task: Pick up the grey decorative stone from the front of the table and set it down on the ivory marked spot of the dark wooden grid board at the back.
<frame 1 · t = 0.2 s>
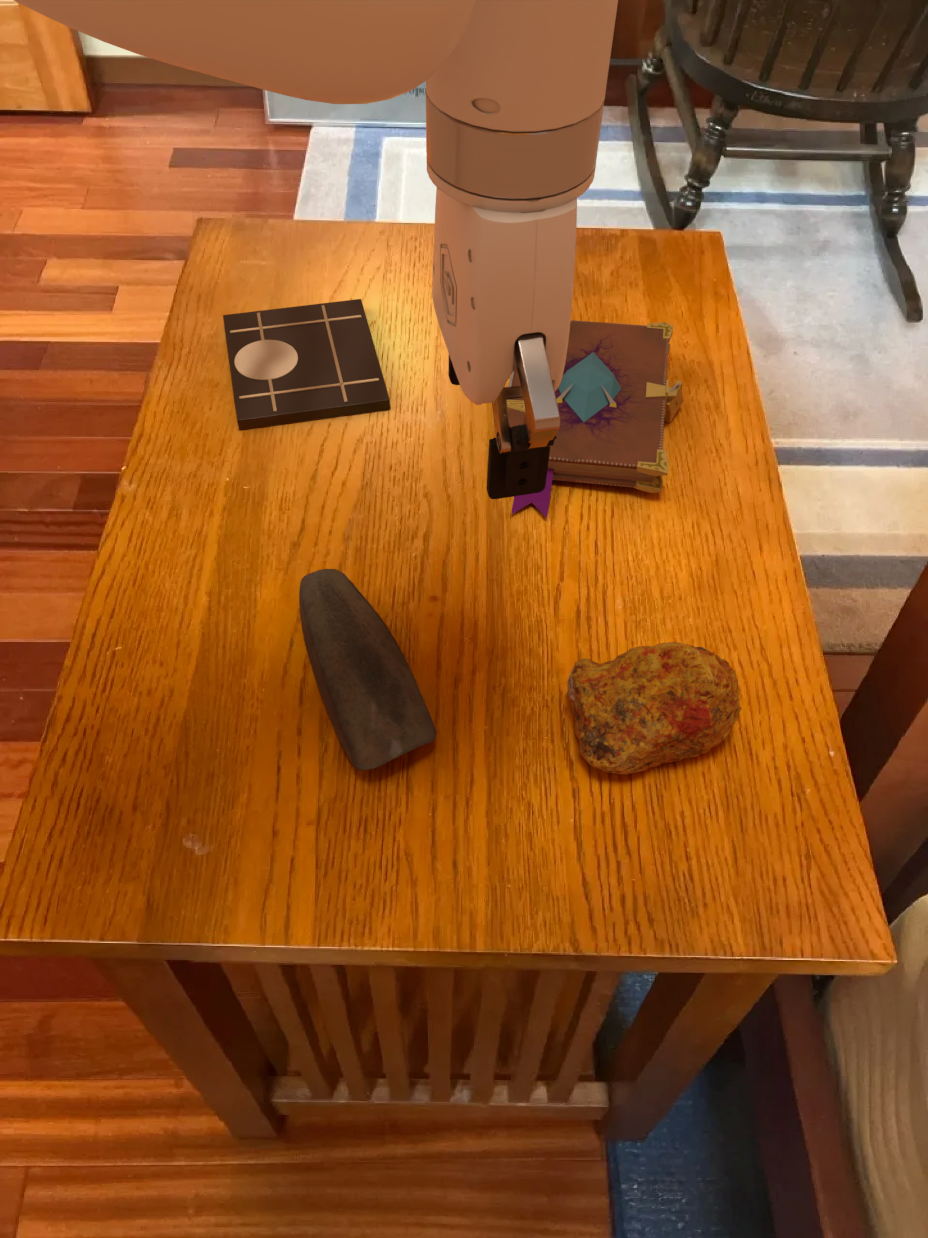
hand: (494, 432, 54), 21 cm above the table, tool pointing down, fingers open, 9 cm apart
book: (590, 431, 86), on the table
decorative stone: (356, 681, 69), on the table
rock: (646, 721, 68), on the table
board: (304, 365, 91), on the table
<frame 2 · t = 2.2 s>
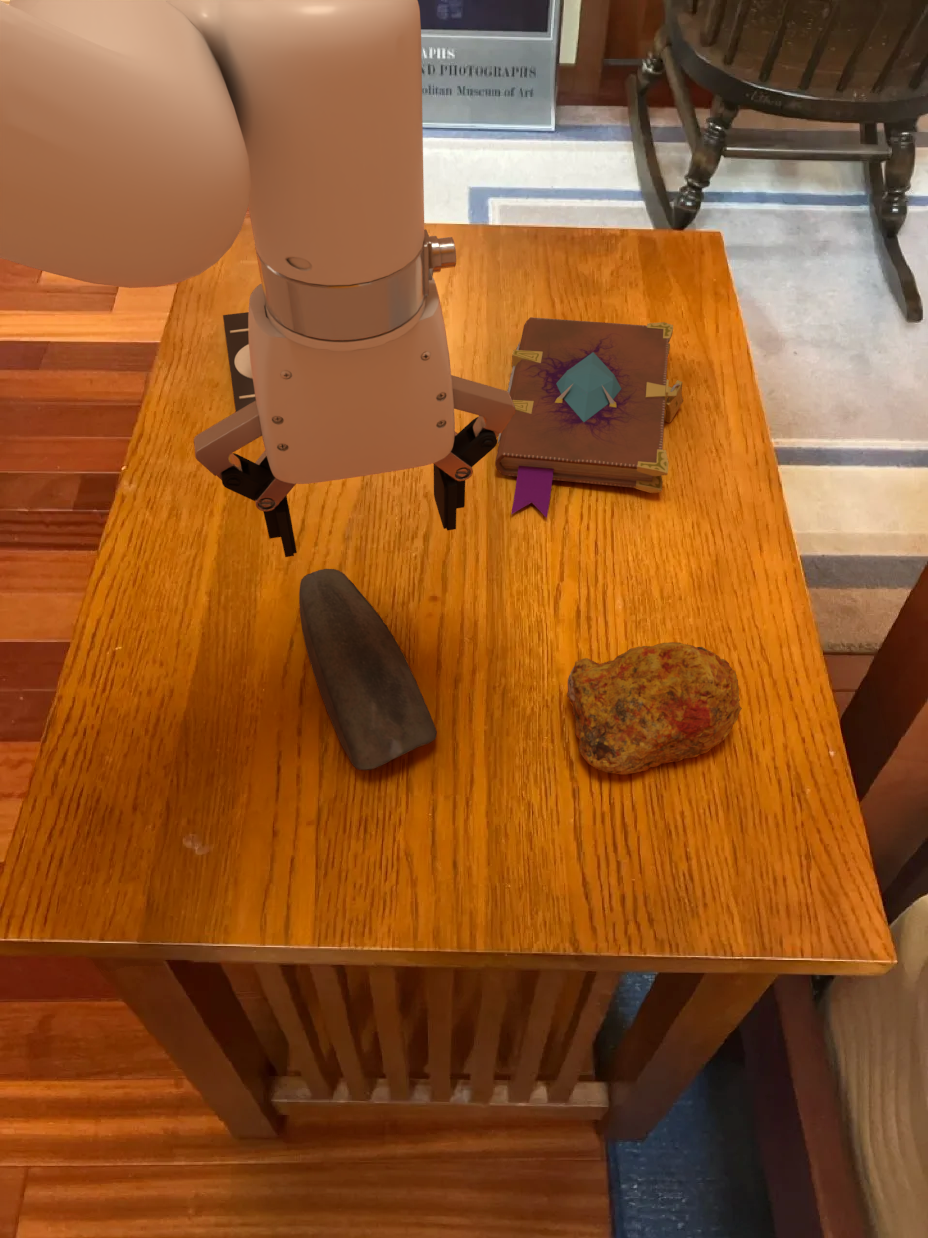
hand: (367, 526, 56), 16 cm above the table, tool pointing down, fingers open, 9 cm apart
nothing on the table moved.
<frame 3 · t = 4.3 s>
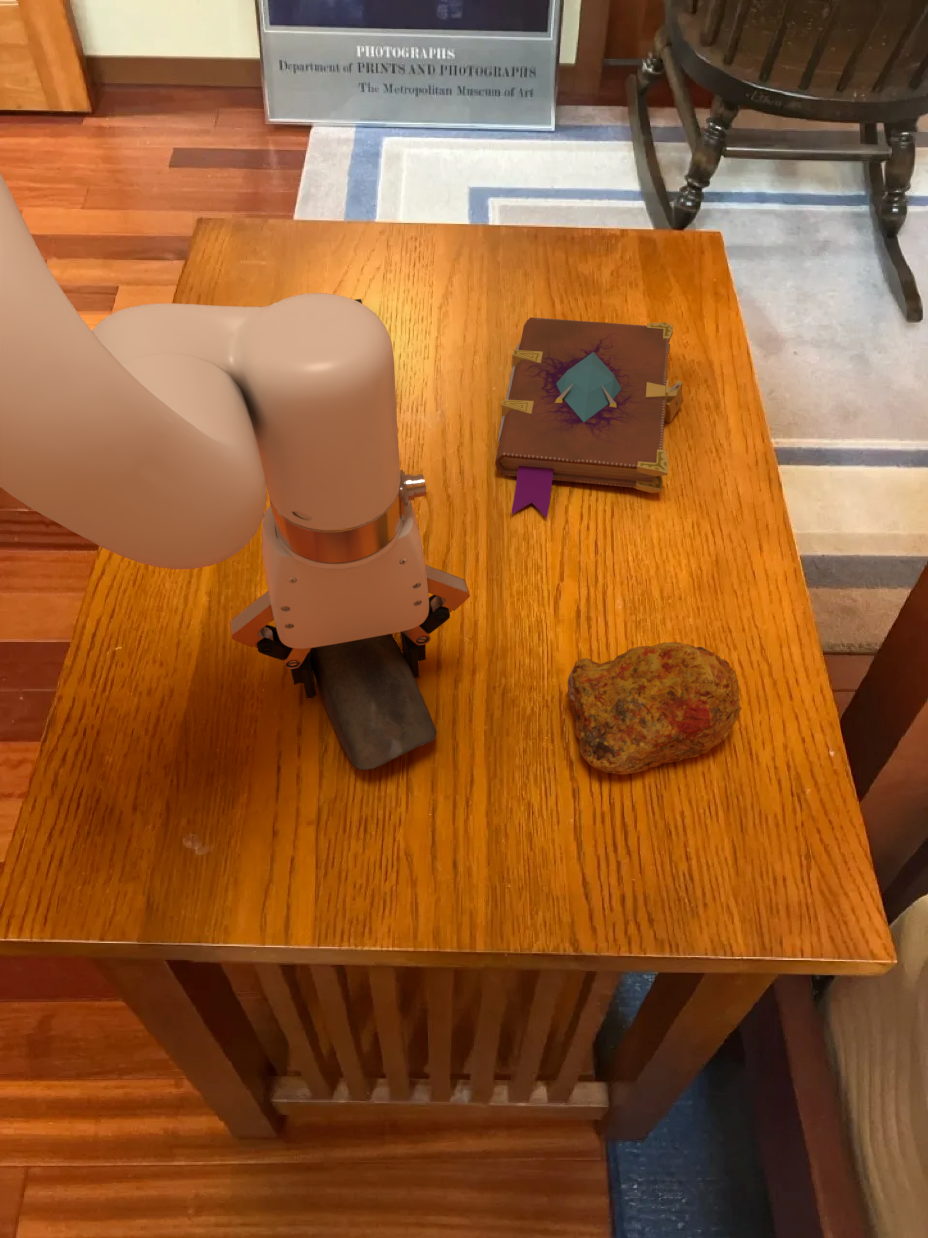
hand: (360, 671, 68), 1 cm above the table, tool pointing down, fingers closed on decorative stone, 6 cm apart
decorative stone: (356, 681, 69), on the table, touching gripper
everything else where it was.
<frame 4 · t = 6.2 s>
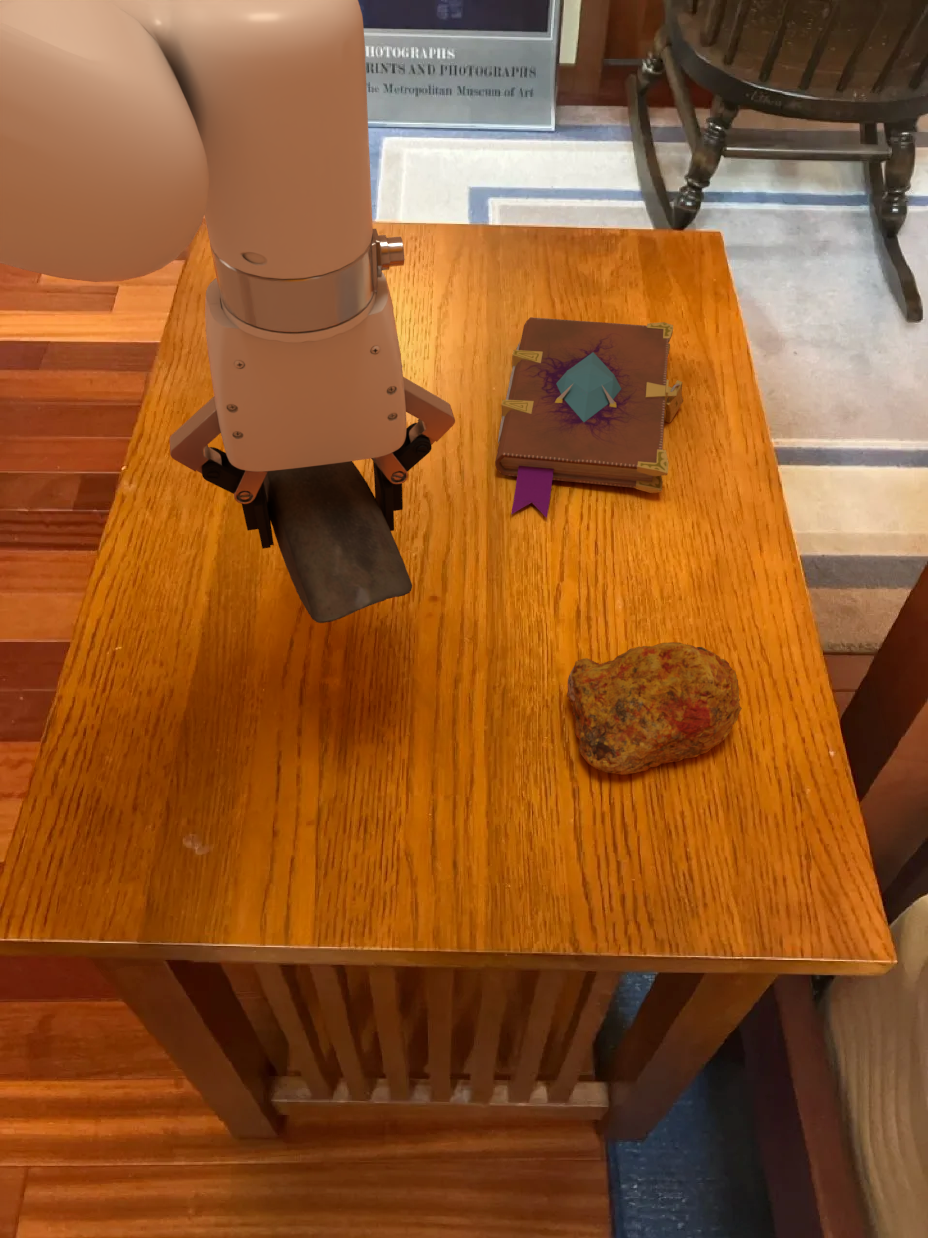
hand: (325, 521, 59), 15 cm above the table, tool pointing down, fingers closed on decorative stone, 6 cm apart
decorative stone: (321, 535, 60), point 13 cm above the table, touching gripper
everything else where it was.
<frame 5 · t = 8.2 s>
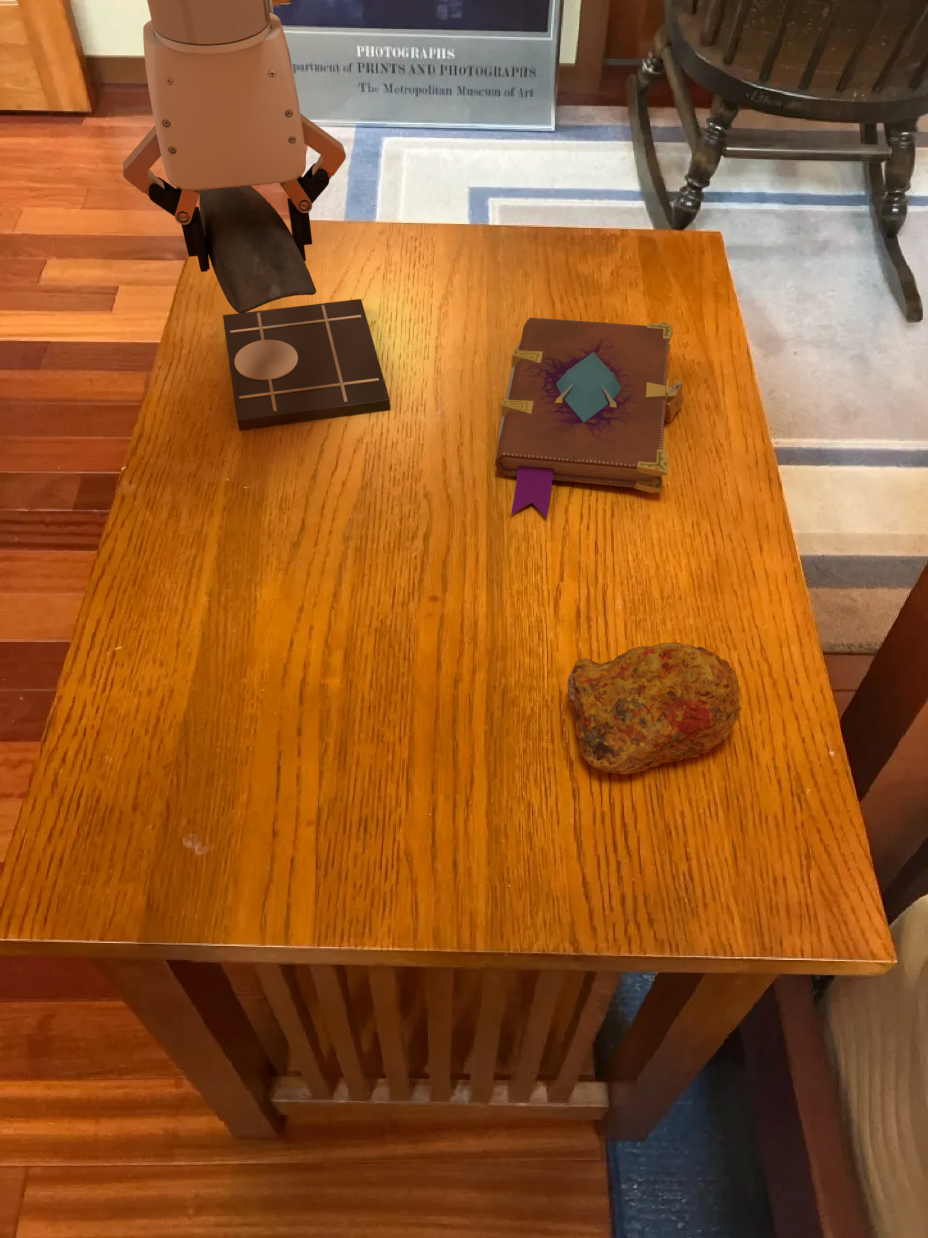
hand: (252, 255, 74), 16 cm above the table, tool pointing down, fingers closed on decorative stone, 6 cm apart
decorative stone: (249, 269, 75), point 15 cm above the table, touching gripper
everything else where it was.
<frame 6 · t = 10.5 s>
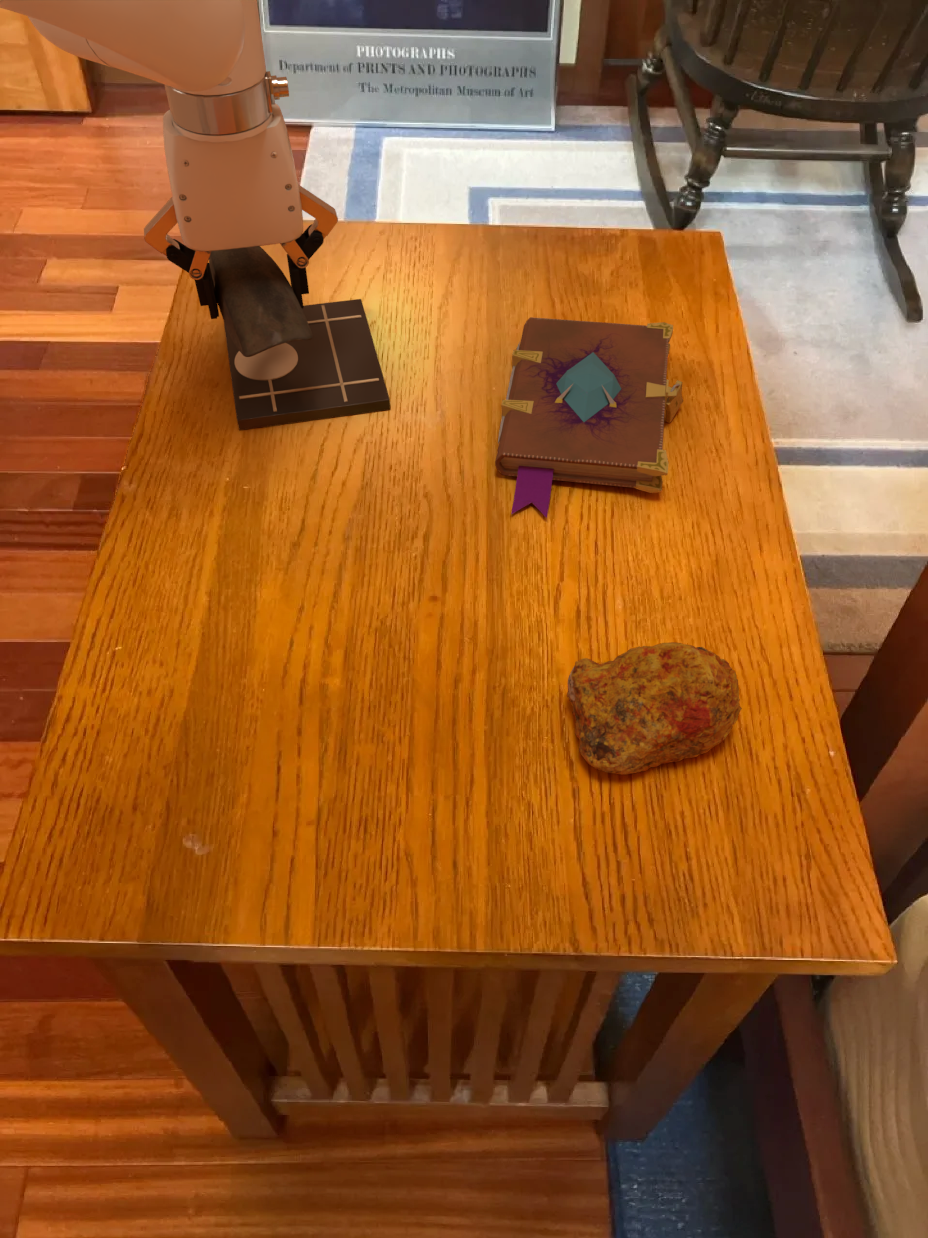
hand: (256, 303, 84), 7 cm above the table, tool pointing down, fingers closed on decorative stone, 6 cm apart
decorative stone: (253, 315, 85), point 6 cm above the table, touching gripper
everything else where it was.
when the fingers open (2 cm above the table, at t = 12.2 s): decorative stone stays where it is, resting on board.
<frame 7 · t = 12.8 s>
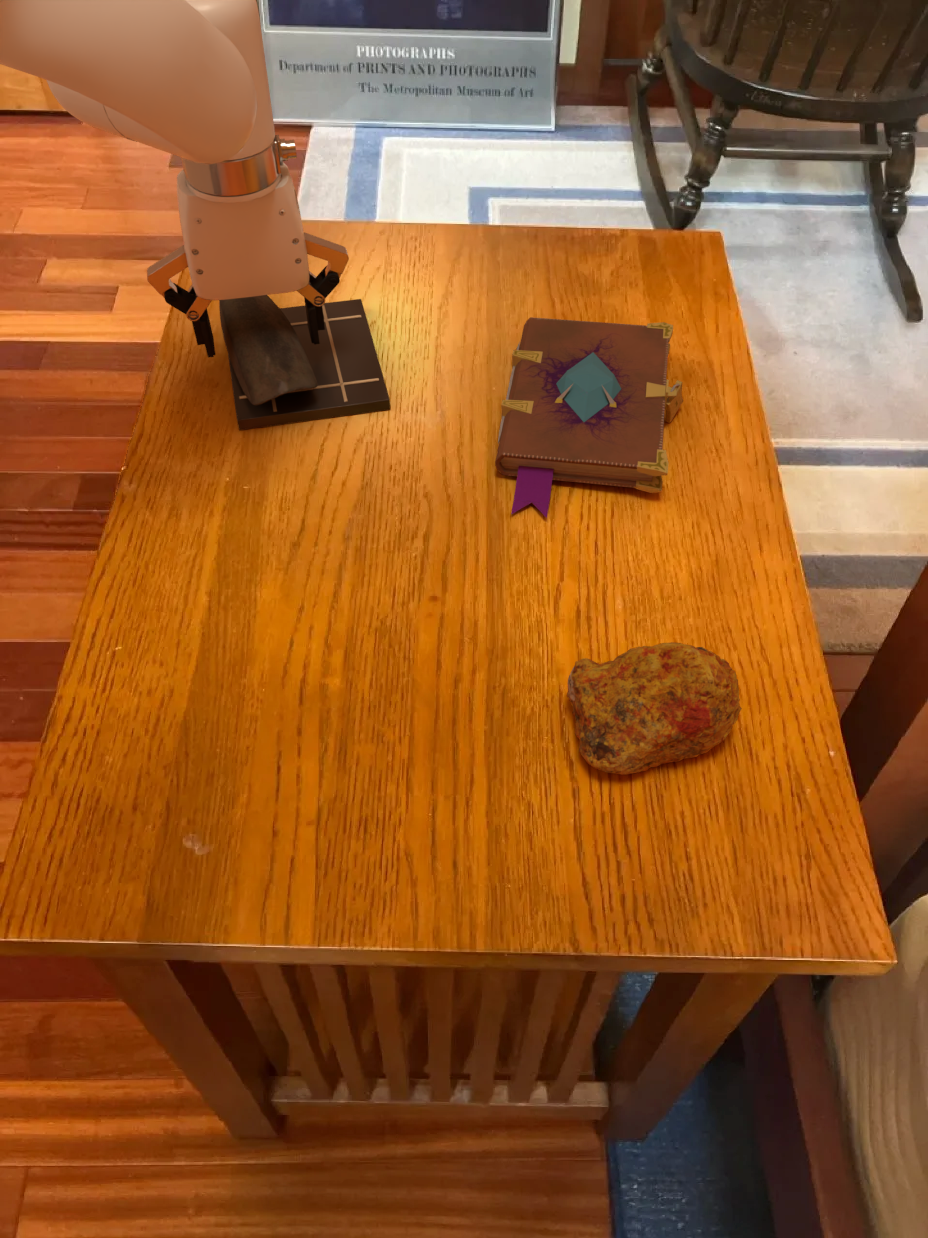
hand: (262, 341, 87), 3 cm above the table, tool pointing down, fingers open, 9 cm apart
decorative stone: (262, 361, 89), point 1 cm above the table, touching board
everything else where it was.
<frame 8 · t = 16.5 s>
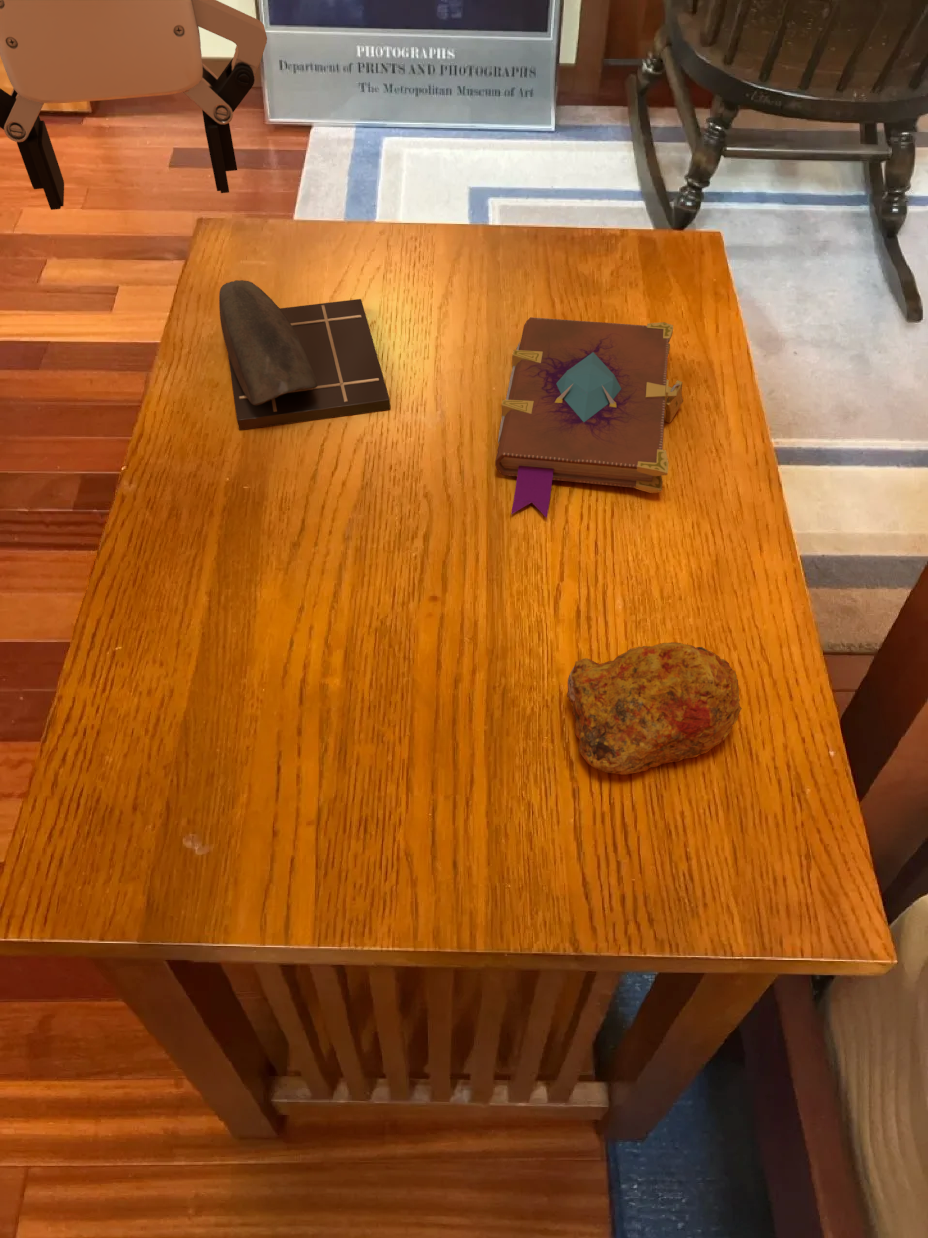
hand: (141, 189, 56), 28 cm above the table, tool pointing down, fingers open, 9 cm apart
nothing on the table moved.
at the end: decorative stone inside the target area on the board (0.4 cm from its centre), point 1.1 cm above the board's base; decorative stone touching board; the gripper is holding nothing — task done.
